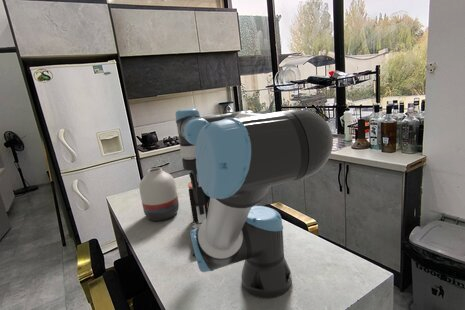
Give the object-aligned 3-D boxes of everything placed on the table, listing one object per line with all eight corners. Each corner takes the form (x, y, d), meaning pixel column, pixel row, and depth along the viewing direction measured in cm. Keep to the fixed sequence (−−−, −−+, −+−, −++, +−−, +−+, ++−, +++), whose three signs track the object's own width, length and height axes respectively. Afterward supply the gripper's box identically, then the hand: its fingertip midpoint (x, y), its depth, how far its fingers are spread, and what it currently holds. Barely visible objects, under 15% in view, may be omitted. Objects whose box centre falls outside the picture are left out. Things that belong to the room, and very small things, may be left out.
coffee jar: (212, 225, 123) (207, 187, 119) (189, 225, 125) (184, 187, 121) (218, 214, 133) (214, 178, 129) (197, 214, 135) (192, 179, 131)
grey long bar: (206, 253, 102) (205, 246, 102) (193, 256, 102) (192, 248, 101) (201, 227, 122) (200, 220, 121) (190, 229, 121) (189, 222, 120)
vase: (154, 227, 127) (145, 178, 121) (139, 216, 139) (130, 171, 133) (186, 213, 137) (179, 167, 131) (169, 204, 150) (162, 162, 144)
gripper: (208, 158, 87) (217, 227, 93) (200, 150, 99) (208, 211, 105) (184, 162, 85) (195, 232, 91) (179, 154, 97) (188, 216, 103)
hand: (202, 221), depth 98 cm, fingers closed
